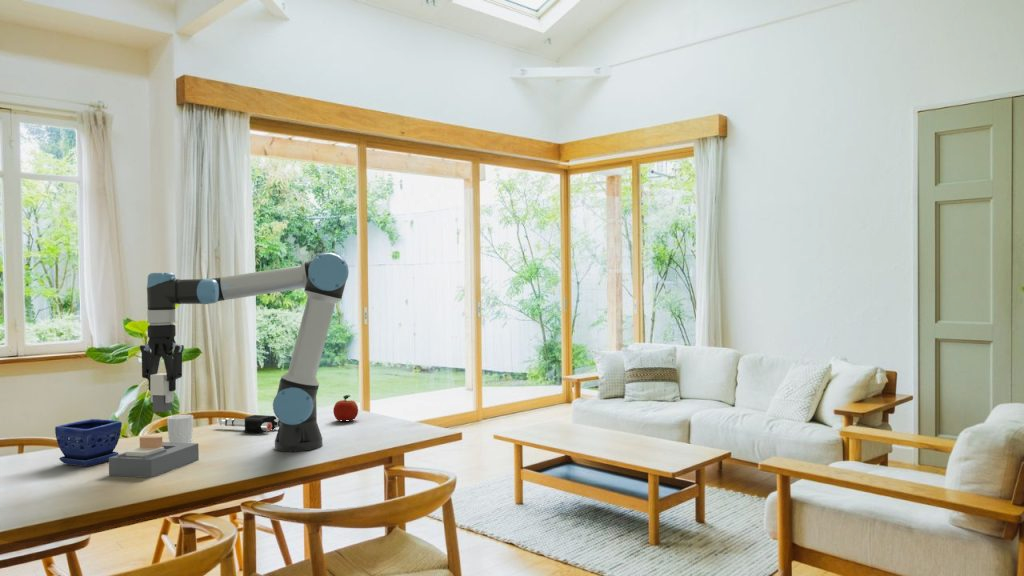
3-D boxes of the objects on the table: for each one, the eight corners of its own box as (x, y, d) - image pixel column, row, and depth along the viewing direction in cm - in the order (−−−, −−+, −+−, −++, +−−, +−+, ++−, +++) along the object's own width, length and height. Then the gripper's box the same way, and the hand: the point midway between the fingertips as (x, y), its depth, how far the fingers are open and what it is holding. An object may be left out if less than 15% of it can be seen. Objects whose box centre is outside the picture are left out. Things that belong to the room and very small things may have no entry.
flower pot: (124, 458, 215) (124, 420, 215) (85, 469, 203) (85, 428, 203) (92, 455, 219) (92, 418, 219) (53, 466, 207) (52, 426, 207)
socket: (198, 459, 212) (198, 440, 212) (151, 477, 193) (151, 456, 193) (159, 457, 215) (158, 439, 215) (109, 475, 196) (108, 454, 195)
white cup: (183, 449, 226) (182, 419, 226) (162, 448, 227) (161, 418, 227) (198, 444, 234) (198, 414, 234) (178, 443, 235) (177, 414, 235)
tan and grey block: (163, 450, 202) (163, 436, 202) (146, 456, 196) (146, 442, 196) (143, 450, 204) (143, 435, 204) (125, 455, 197) (125, 441, 197)
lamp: (265, 420, 247) (207, 417, 254) (265, 435, 247) (207, 431, 254) (283, 414, 258) (227, 412, 265) (284, 429, 258) (227, 426, 265)
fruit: (329, 423, 267) (328, 397, 267) (339, 418, 276) (338, 393, 276) (352, 423, 265) (352, 397, 265) (361, 418, 275) (361, 393, 275)
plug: (163, 412, 204) (163, 375, 204) (150, 411, 205) (150, 374, 205) (173, 409, 208) (173, 373, 208) (161, 409, 209) (160, 373, 209)
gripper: (195, 323, 208) (196, 400, 208) (145, 323, 212) (146, 399, 212) (178, 324, 201) (179, 404, 201) (127, 324, 205) (127, 403, 205)
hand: (162, 401), depth 207 cm, fingers closed on plug, 4 cm apart
